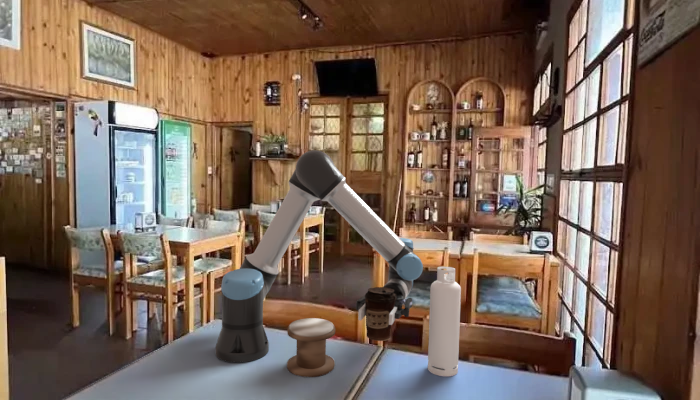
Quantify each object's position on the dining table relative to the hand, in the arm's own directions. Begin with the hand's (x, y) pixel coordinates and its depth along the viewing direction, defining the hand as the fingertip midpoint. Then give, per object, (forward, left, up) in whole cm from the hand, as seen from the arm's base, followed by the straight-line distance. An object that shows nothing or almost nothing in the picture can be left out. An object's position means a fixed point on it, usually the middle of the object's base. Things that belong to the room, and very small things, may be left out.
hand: (375, 317), depth 110 cm
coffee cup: (-2, +4, -7) cm, 9 cm away
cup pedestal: (-17, -6, -17) cm, 25 cm away
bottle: (+10, +18, -17) cm, 27 cm away
